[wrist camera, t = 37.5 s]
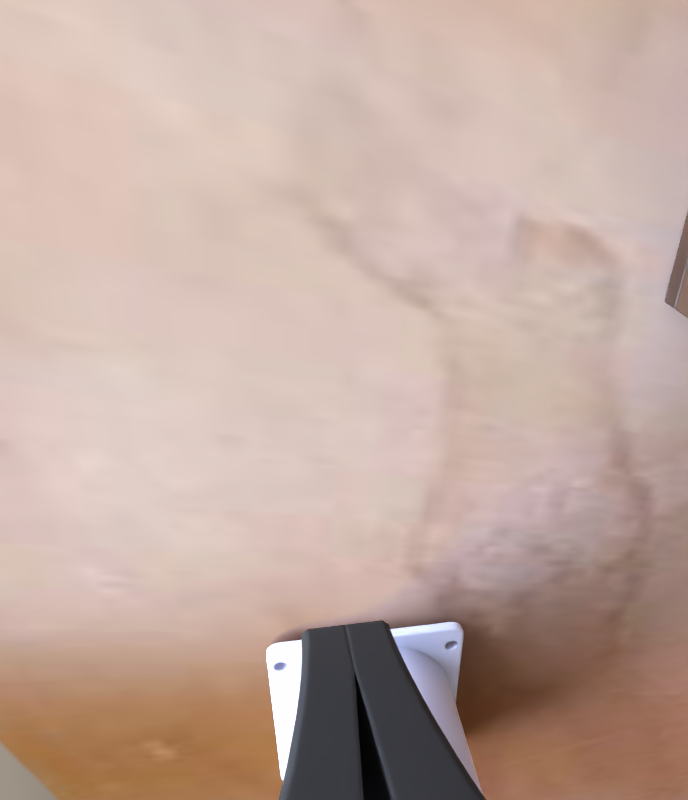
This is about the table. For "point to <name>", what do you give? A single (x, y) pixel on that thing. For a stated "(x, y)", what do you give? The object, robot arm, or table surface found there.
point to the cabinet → (680, 277)
